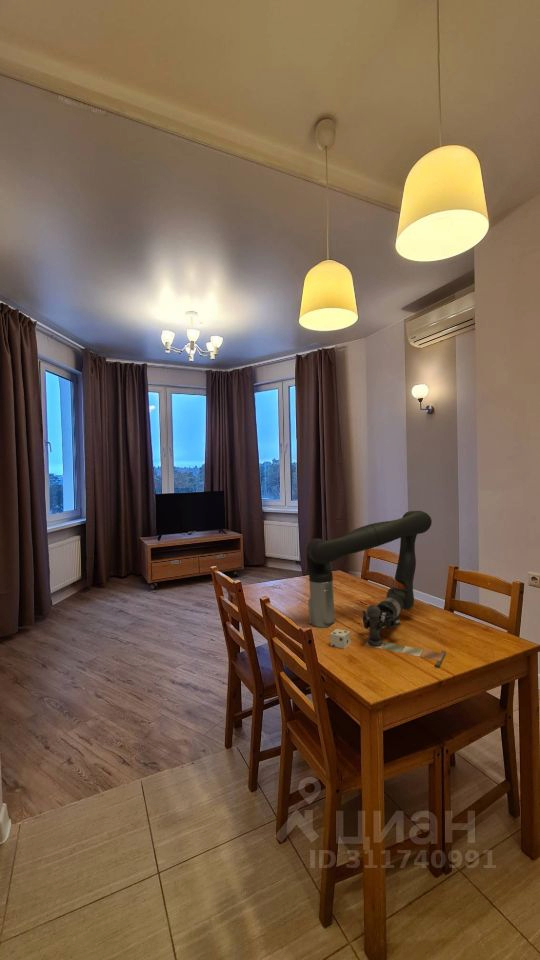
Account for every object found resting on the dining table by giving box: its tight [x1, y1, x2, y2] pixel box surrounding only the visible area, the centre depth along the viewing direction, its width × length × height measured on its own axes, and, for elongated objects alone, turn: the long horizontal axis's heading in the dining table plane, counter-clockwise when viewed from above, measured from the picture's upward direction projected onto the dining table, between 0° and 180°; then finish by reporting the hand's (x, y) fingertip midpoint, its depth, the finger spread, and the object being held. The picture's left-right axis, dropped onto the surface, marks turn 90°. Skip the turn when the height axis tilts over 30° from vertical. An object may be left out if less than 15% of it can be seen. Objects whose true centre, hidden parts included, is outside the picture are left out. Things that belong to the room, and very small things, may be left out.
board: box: [364, 640, 447, 669], centre depth 125 cm, size 24×11×1 cm, turn 56°
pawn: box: [366, 604, 383, 646], centre depth 130 cm, size 5×5×13 cm
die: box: [329, 628, 351, 650], centre depth 131 cm, size 5×5×5 cm
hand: (371, 626), depth 128 cm, fingers closed on pawn, 3 cm apart
